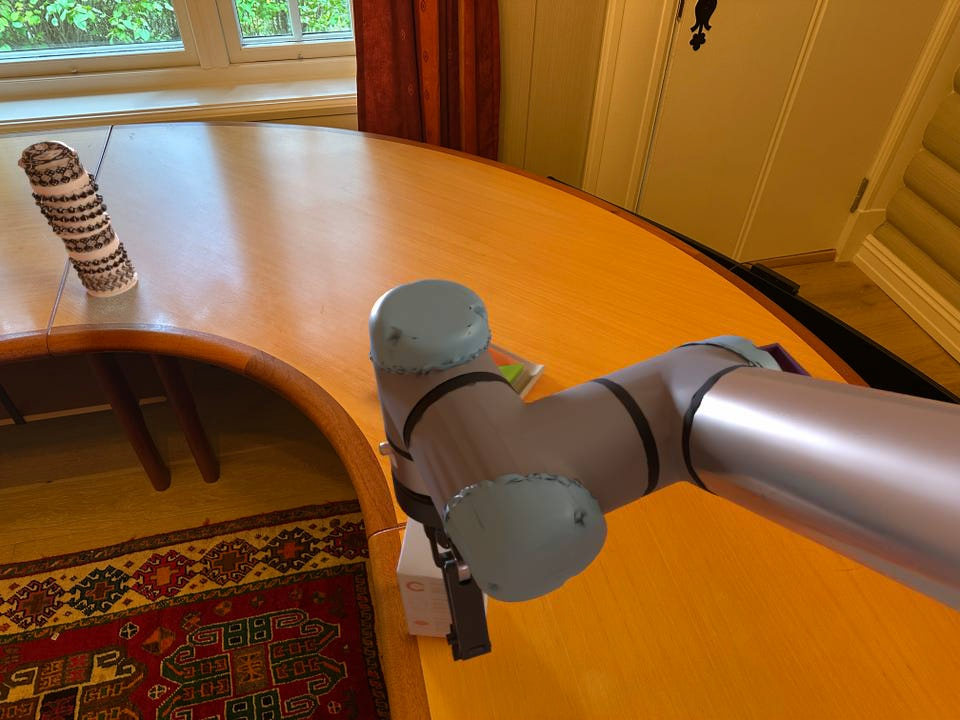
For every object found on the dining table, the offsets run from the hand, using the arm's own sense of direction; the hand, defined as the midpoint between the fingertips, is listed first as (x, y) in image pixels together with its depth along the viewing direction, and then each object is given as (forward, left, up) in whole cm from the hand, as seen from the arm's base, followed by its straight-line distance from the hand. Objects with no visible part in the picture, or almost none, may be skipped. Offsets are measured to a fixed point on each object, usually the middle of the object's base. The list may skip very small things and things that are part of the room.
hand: (448, 587), depth 62 cm
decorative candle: (+75, +42, -5) cm, 86 cm away
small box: (0, 0, -5) cm, 5 cm away
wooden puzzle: (+32, -11, -5) cm, 34 cm away
